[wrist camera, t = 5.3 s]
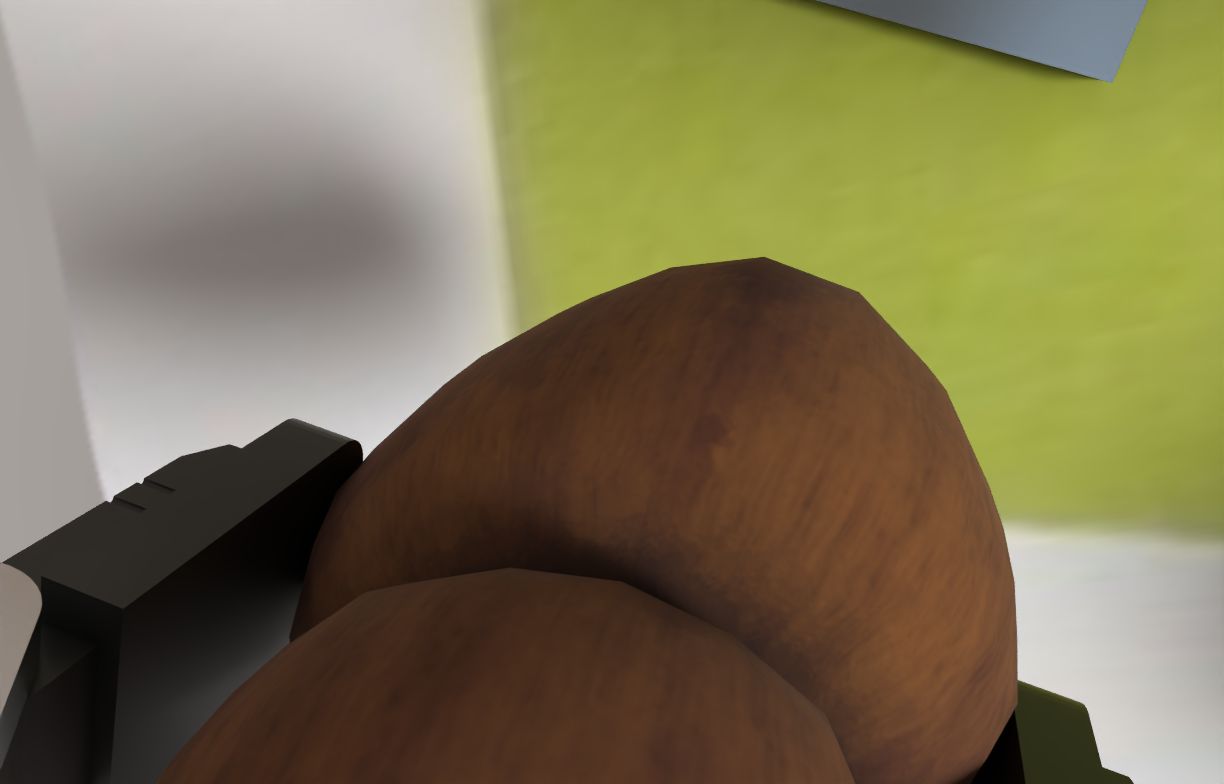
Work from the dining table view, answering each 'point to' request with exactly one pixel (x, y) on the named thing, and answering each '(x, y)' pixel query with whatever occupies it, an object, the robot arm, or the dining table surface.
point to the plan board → (1024, 27)
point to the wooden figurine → (651, 564)
